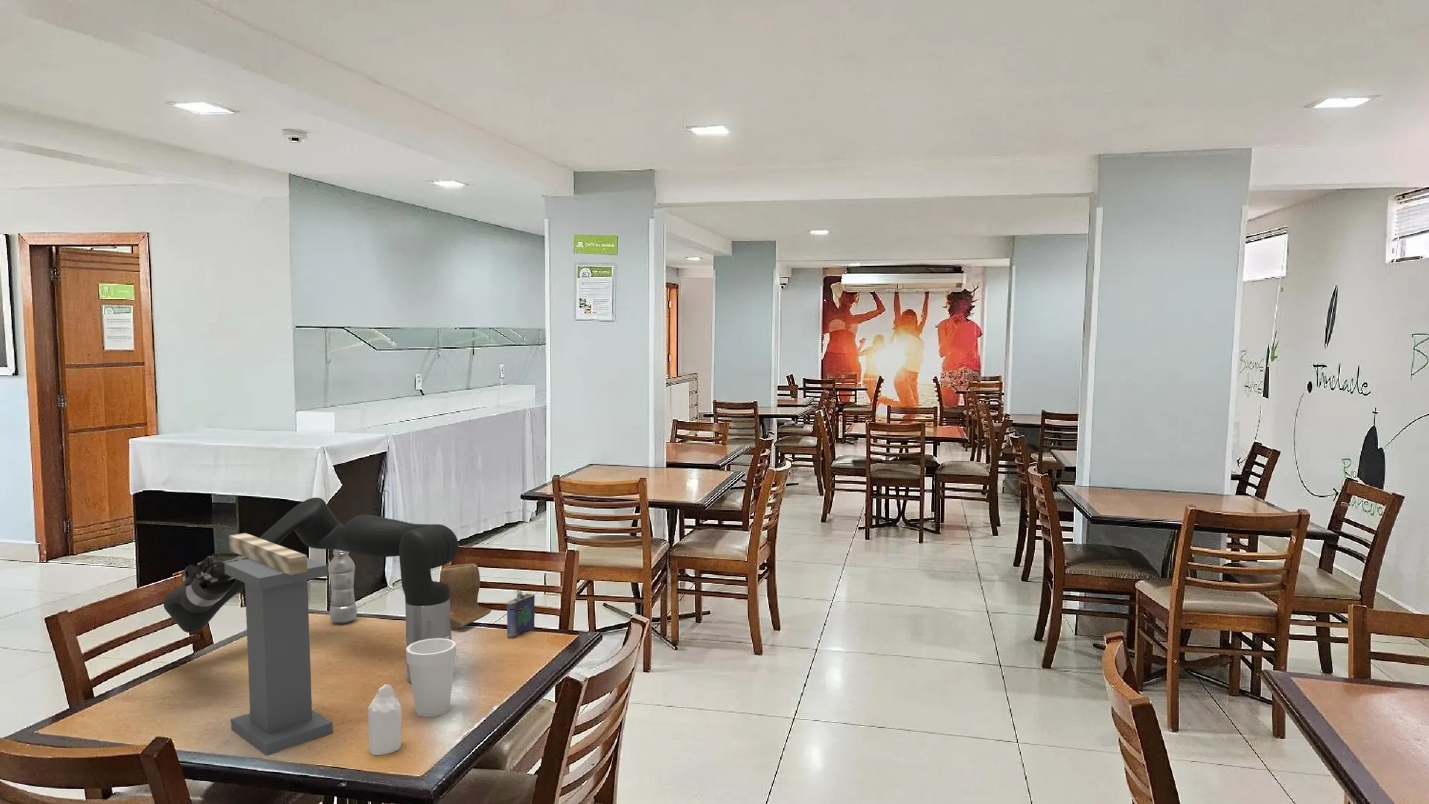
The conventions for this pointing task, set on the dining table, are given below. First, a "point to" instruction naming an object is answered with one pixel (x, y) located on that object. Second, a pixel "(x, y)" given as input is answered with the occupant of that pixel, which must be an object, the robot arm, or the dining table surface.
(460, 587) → the brown curved chair
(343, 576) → the plastic bottle
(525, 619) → the flask
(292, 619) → the stand
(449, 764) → the dining table surface
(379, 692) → the white pointed cylinder
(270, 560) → the light wooden bar
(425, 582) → the robot arm
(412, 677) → the foam cup
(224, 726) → the dining table surface
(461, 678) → the dining table surface
